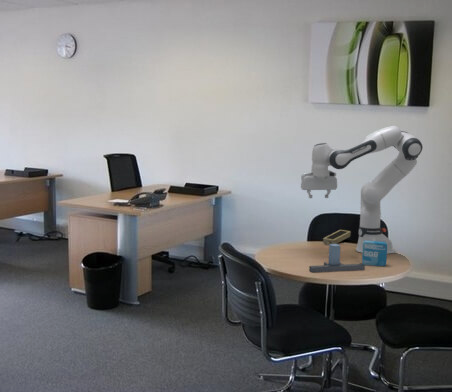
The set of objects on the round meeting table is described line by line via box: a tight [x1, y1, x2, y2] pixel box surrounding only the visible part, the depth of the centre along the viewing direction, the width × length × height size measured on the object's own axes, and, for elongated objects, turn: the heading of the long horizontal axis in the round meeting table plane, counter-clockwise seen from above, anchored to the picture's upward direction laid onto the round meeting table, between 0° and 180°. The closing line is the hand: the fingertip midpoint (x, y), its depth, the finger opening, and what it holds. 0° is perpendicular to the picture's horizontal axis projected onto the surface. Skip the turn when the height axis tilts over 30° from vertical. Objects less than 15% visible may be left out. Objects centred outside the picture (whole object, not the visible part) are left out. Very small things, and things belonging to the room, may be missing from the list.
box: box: [322, 229, 352, 246], centre depth 326 cm, size 8×22×5 cm, turn 136°
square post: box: [327, 243, 341, 265], centre depth 265 cm, size 4×4×12 cm
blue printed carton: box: [361, 240, 388, 267], centre depth 274 cm, size 12×4×12 cm, turn 75°
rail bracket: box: [308, 261, 366, 273], centre depth 264 cm, size 28×8×2 cm, turn 103°
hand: (318, 198), depth 293 cm, fingers open, 8 cm apart
